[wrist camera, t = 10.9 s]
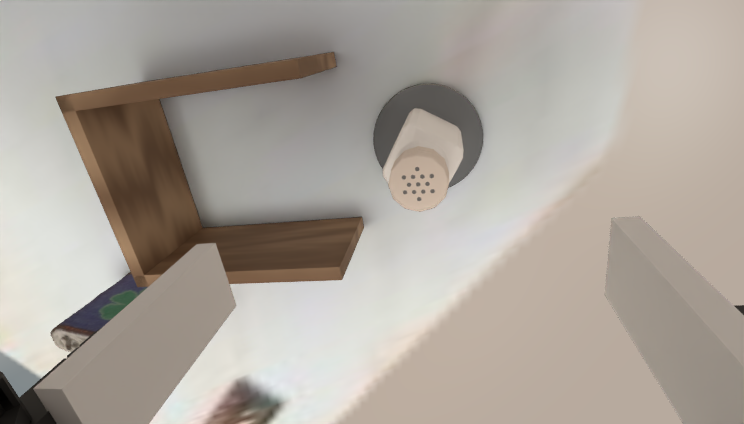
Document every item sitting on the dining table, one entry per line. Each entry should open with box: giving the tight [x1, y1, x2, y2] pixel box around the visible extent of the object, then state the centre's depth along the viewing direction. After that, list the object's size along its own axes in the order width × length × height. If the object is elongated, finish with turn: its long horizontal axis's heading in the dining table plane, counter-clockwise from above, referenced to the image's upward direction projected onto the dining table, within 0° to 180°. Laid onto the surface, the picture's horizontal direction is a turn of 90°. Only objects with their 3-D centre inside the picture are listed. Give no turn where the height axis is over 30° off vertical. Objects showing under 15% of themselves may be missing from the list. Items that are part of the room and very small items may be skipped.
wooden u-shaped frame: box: [56, 52, 364, 287], centre depth 30 cm, size 14×16×8 cm
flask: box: [51, 272, 148, 352], centre depth 36 cm, size 9×3×11 cm, turn 89°
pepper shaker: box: [383, 108, 464, 212], centre depth 26 cm, size 4×4×10 cm
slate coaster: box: [373, 84, 483, 188], centre depth 30 cm, size 8×8×1 cm
